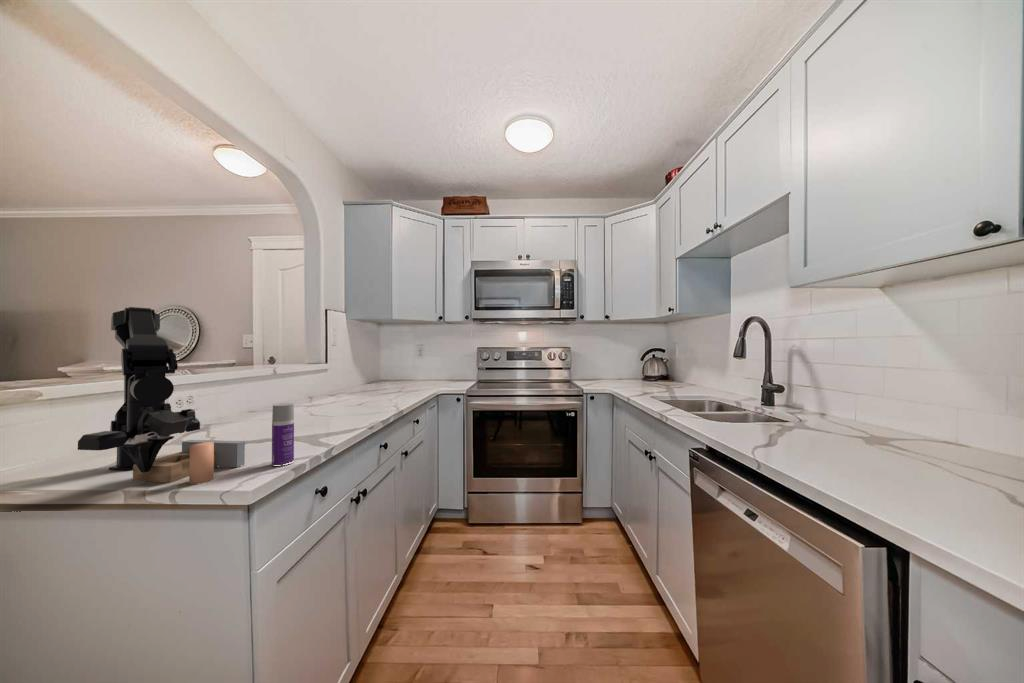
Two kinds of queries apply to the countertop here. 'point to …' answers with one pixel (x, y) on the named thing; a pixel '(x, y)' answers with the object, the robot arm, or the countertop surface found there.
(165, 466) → the socket block
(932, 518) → the countertop surface
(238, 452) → the backstop wall
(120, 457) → the robot arm
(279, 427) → the container
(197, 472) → the dowel
